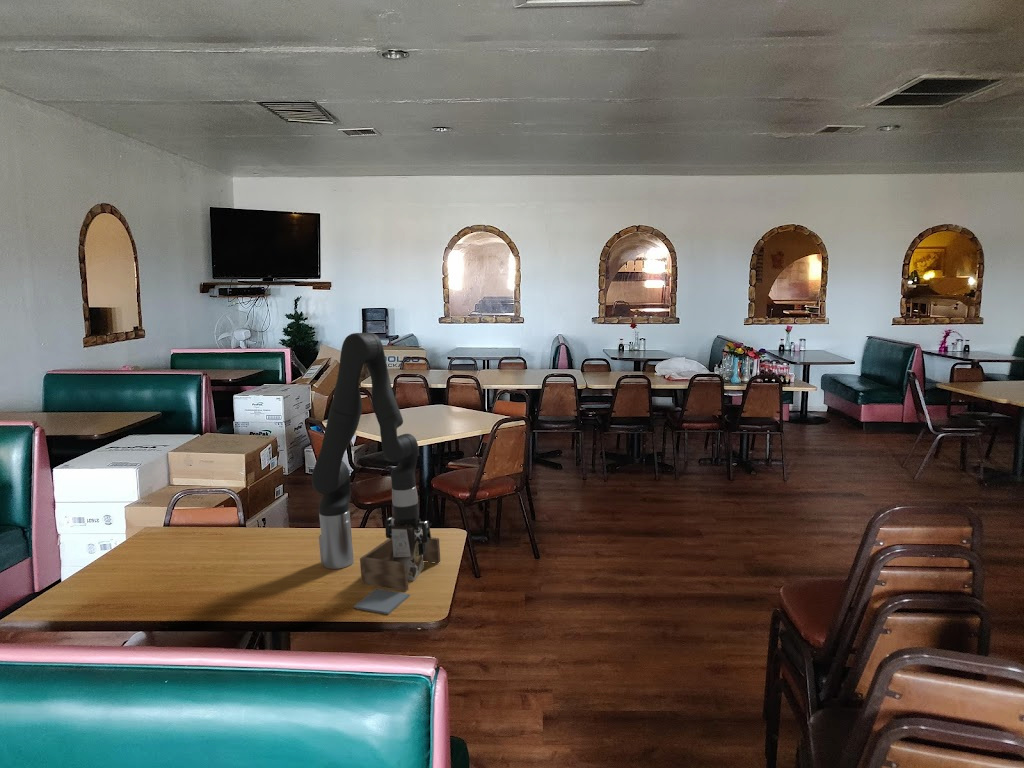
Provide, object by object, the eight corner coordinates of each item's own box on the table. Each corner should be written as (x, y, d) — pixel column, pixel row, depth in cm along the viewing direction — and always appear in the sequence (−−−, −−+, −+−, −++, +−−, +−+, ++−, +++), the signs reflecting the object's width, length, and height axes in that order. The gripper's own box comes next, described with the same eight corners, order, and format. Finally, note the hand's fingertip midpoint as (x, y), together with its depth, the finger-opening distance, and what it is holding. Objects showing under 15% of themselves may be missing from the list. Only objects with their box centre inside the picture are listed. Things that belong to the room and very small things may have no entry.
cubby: (361, 583, 204) (359, 558, 202) (398, 556, 222) (397, 532, 221) (406, 591, 198) (404, 564, 196) (440, 562, 216) (439, 538, 215)
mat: (354, 608, 189) (353, 606, 189) (376, 590, 199) (376, 588, 199) (388, 614, 185) (388, 612, 185) (409, 596, 195) (409, 594, 195)
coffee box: (414, 581, 204) (411, 529, 201) (394, 580, 205) (390, 528, 203) (424, 568, 213) (421, 518, 210) (404, 567, 214) (401, 517, 211)
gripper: (377, 503, 205) (382, 555, 207) (419, 507, 199) (424, 560, 202) (391, 495, 212) (395, 545, 214) (432, 499, 206) (436, 550, 209)
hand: (409, 552), depth 208 cm, fingers open, 8 cm apart
